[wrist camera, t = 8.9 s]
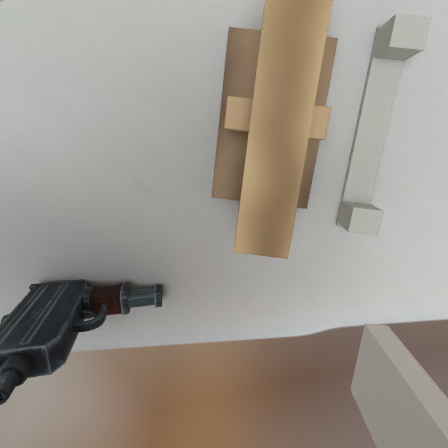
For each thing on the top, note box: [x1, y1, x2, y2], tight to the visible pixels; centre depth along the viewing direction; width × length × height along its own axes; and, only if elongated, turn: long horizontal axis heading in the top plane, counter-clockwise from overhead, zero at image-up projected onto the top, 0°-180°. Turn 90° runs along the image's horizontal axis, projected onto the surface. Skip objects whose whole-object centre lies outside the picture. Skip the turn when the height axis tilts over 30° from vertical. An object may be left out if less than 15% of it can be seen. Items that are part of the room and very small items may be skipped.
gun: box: [0, 279, 162, 405], centre depth 30 cm, size 3×17×15 cm
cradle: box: [336, 14, 432, 235], centre depth 29 cm, size 3×19×4 cm, turn 174°
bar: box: [234, 0, 333, 259], centre depth 22 cm, size 4×20×4 cm, turn 174°
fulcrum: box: [212, 27, 338, 209], centre depth 28 cm, size 10×16×8 cm, turn 174°
